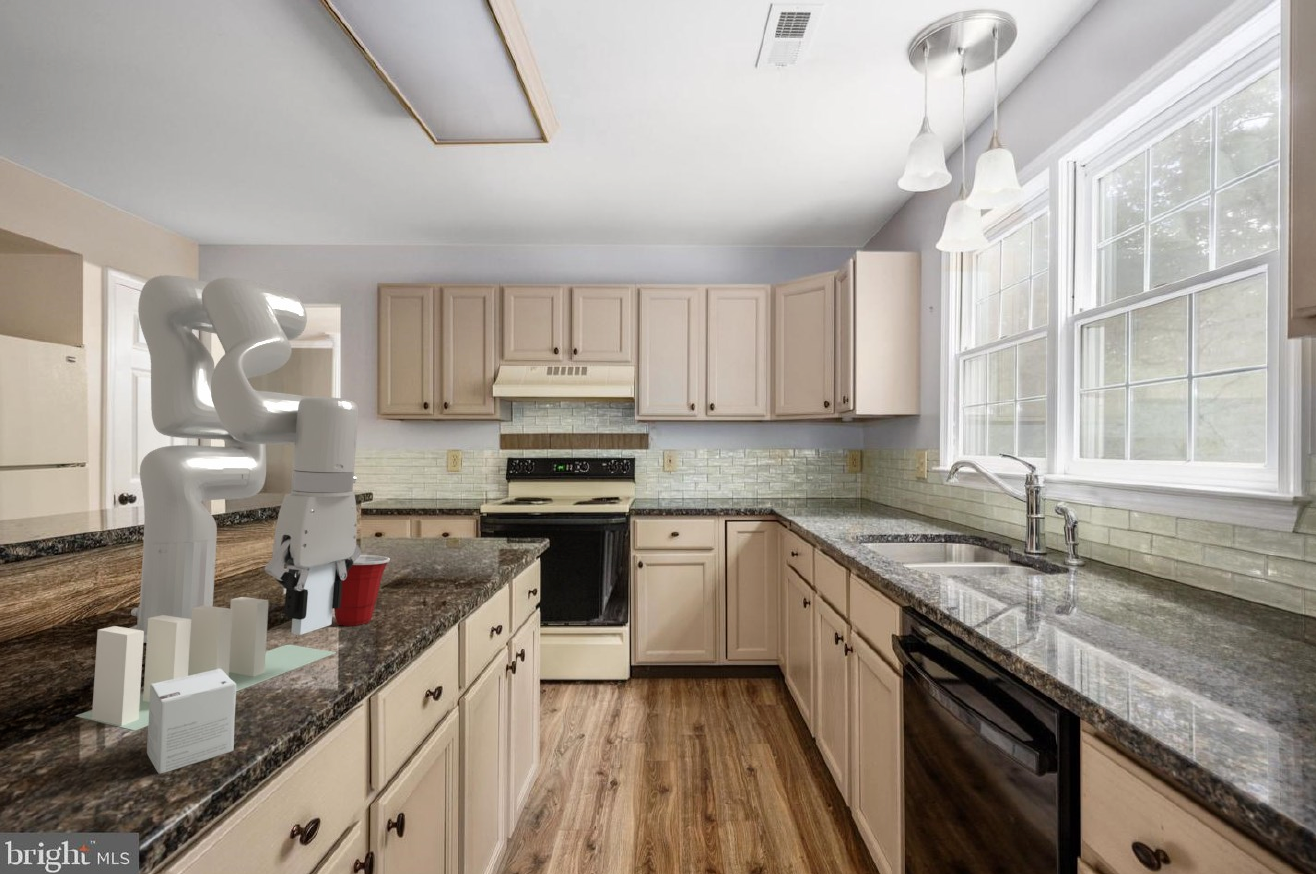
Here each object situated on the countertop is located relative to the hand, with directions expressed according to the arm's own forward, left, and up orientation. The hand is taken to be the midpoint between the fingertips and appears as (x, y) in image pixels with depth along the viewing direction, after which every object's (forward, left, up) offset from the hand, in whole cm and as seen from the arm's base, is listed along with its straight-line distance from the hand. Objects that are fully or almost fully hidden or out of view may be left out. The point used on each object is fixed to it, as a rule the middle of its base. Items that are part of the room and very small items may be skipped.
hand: (313, 611), depth 79 cm
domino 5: (0, 0, -3) cm, 3 cm away
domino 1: (-8, -18, -9) cm, 22 cm away
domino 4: (-8, -3, -9) cm, 12 cm away
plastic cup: (-14, +22, -9) cm, 28 cm away
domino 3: (-8, -8, -9) cm, 14 cm away
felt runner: (-8, -6, -9) cm, 13 cm away
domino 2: (-8, -13, -9) cm, 18 cm away
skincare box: (+7, -20, -9) cm, 23 cm away
